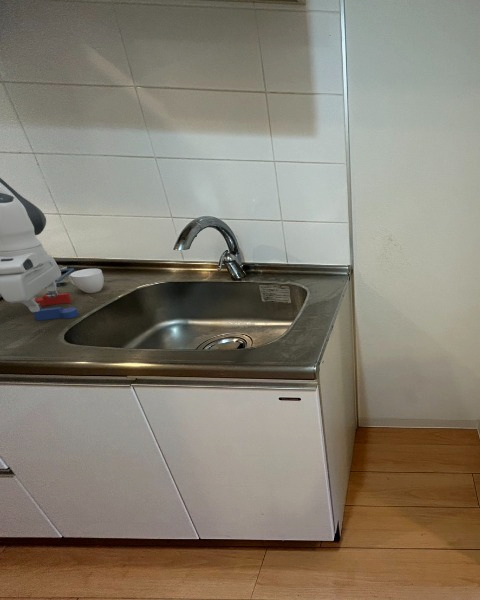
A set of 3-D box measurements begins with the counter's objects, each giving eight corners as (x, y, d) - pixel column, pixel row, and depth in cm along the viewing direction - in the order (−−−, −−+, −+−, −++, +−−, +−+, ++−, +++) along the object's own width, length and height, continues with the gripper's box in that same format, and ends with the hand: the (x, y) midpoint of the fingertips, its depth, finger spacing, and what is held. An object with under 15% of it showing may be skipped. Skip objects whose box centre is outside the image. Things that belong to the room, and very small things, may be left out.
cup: (95, 295, 103) (88, 277, 100) (64, 294, 103) (55, 275, 100) (114, 286, 110) (107, 269, 107) (84, 285, 110) (77, 267, 107)
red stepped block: (73, 299, 100) (69, 291, 99) (68, 304, 97) (64, 295, 96) (36, 303, 96) (31, 294, 95) (30, 308, 94) (25, 299, 92)
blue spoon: (34, 322, 87) (30, 313, 86) (41, 317, 90) (36, 308, 88) (76, 317, 91) (72, 308, 89) (80, 312, 93) (77, 303, 92)
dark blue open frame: (61, 286, 108) (58, 280, 106) (29, 289, 104) (25, 282, 103) (76, 274, 117) (73, 268, 116) (47, 276, 114) (44, 270, 113)
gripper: (27, 247, 89) (48, 290, 95) (-21, 271, 72) (8, 321, 78) (57, 245, 91) (75, 288, 97) (17, 268, 75) (42, 317, 81)
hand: (45, 303), depth 88 cm, fingers open, 8 cm apart
